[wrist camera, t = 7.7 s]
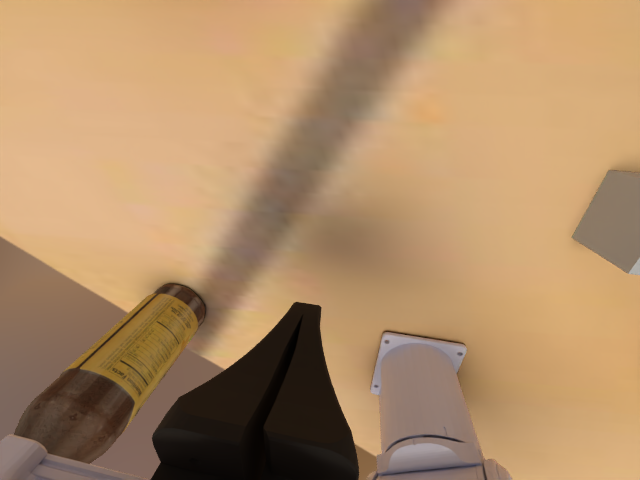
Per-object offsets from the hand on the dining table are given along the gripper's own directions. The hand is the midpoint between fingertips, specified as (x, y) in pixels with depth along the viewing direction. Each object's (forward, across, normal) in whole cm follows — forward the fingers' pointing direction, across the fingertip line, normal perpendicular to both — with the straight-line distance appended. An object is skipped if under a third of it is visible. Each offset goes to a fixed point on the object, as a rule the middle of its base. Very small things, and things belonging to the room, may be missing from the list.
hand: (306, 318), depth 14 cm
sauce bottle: (+11, +16, +11) cm, 22 cm away
